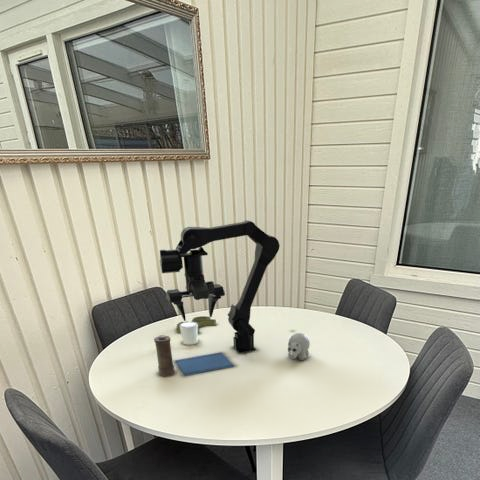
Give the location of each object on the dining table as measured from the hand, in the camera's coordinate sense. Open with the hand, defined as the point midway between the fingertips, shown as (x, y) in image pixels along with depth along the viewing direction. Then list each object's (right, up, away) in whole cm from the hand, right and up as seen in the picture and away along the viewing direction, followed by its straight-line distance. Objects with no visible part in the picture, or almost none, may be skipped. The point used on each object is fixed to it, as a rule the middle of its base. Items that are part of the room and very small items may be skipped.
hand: (197, 318), depth 140 cm
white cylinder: (-5, -4, +18) cm, 19 cm away
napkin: (+2, -15, 0) cm, 16 cm away
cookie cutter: (-4, +5, +33) cm, 33 cm away
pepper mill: (-10, -19, -6) cm, 22 cm away
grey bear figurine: (+33, -14, 0) cm, 36 cm away
